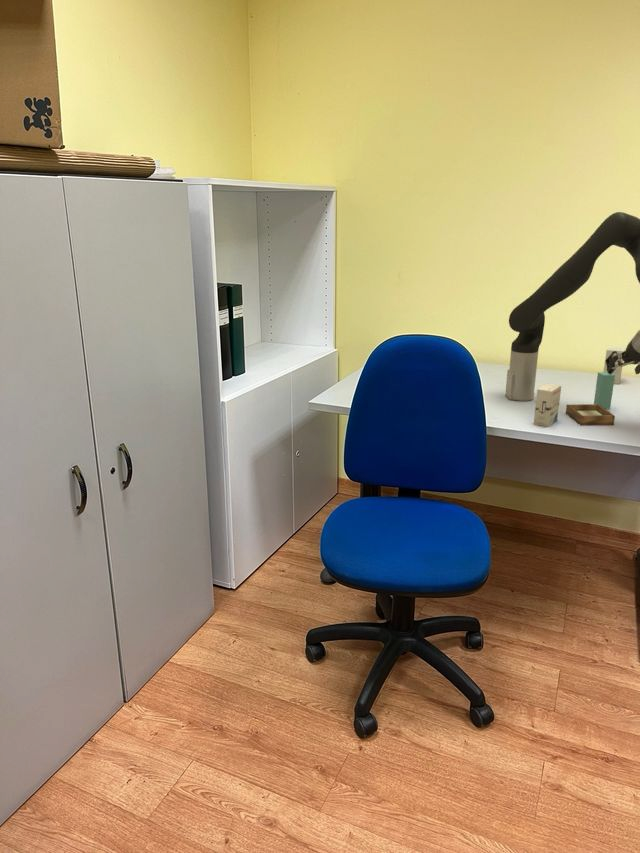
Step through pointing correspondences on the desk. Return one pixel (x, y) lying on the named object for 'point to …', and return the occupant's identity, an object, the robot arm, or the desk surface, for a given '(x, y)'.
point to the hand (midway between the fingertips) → (622, 371)
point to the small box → (618, 370)
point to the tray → (590, 414)
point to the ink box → (547, 404)
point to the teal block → (604, 389)
